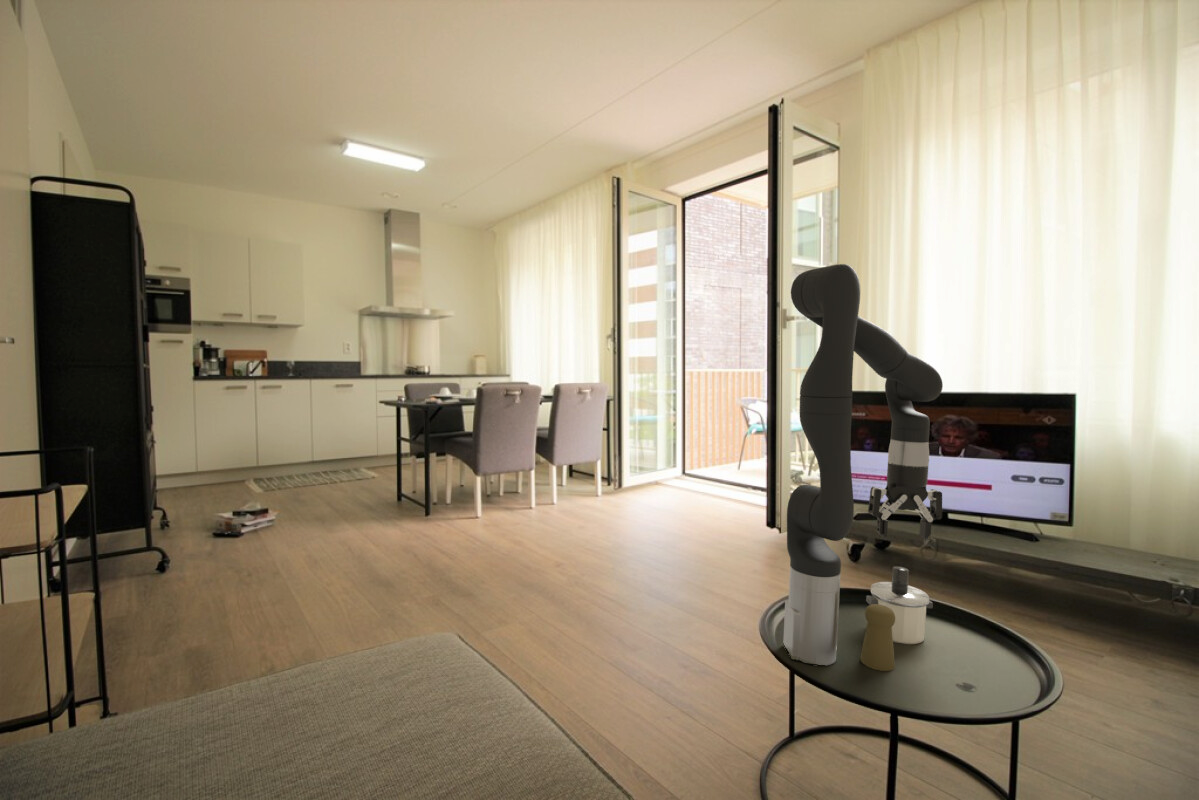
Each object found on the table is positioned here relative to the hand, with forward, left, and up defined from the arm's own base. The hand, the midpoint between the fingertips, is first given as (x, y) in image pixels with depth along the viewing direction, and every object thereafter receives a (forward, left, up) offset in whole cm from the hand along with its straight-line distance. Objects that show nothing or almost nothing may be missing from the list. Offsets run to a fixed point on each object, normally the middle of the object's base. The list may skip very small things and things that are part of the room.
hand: (903, 537), depth 118 cm
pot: (0, 0, -21) cm, 21 cm away
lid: (0, 0, -13) cm, 13 cm away
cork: (-10, -13, -21) cm, 27 cm away
